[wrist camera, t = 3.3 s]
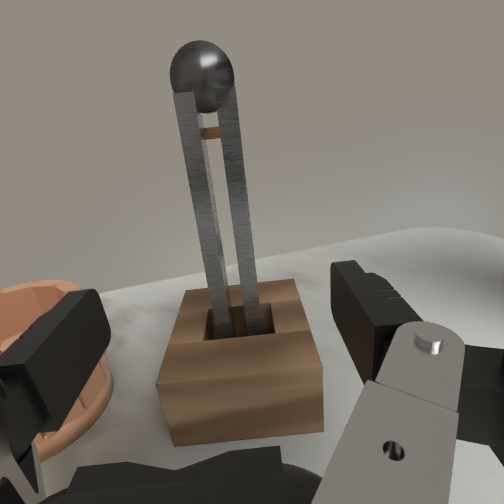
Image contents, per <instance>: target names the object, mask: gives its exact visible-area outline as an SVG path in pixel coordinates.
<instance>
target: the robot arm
mask: <svg viewBox="0 0 504 504" xmlns="http://www.w3.org/2000/svg"><path fill="white" fill-rule="evenodd" d="M330 272H331V310H332V315H333V319H334V321H335V323H336V326H337V328H338V330H339V332H340V334H341V336H342V339H343V341H344V343H345V345H346V347H347V349H348V351H349V354H350V356H351V358H352V360H353V362H354V364H355V366H356V369H357V371H358V373H359V375H360V377H361V379H362V382H363V384H364V388H363V390H362V392H361V394H360V396H359V399H358V401H357V403H356V405H355V407H354V410H353V412H352V414H351V416H350V419H349V421H348V423H347V425H346V427H345V430H344V432H343V434H342V436H341V438H340V441H339V443H338V445H337V447H336V450H335V452H334V454H333V456H332V458H331V461H330V463H329V465H328V467H327V469H326V472H325V474H324V476H323V478H322V477H320V476H319V475H317V474H315V473H312V472H310V471H308V470H306V469H303V468H300V467H297V466H294V465H290V464H284V463H282V460H281V451H280V446H272V447H262V448H253V449H244V450H234V451H228V452H226V453H223V454H220V455H218V456H215V457H212V458H209V459H207V460H204V461H201V462H198V463H196V464H193V465H190V466H188V467H185V468H182V469H179V470H169V469H164V468H158V467H153V466H147V465H142V464H136V463H131V462H121V463H111V464H102V465H92V466H83V467H78V468H77V470H76V472H75V474H74V476H73V478H72V481H71V483H70V485H69V487H68V488H66V489H64V490H62V491H60V492H58V493H56V494H53V495H51V496H49V497H48V498H46V496H45V490H44V484H43V478H42V473H41V467H40V461H39V455H38V450H37V447H36V445H35V443H34V441H33V440H34V438H35V437H36V435H37V434H38V433H46V432H55V431H59V430H60V428H61V426H62V424H63V423H64V421H65V419H66V418H67V416H68V414H69V412H70V411H71V409H72V407H73V405H74V404H75V402H76V400H77V399H78V397H79V395H80V393H81V392H82V390H83V388H84V386H85V385H86V383H87V381H88V380H89V378H90V376H91V374H92V373H93V371H94V369H95V367H96V366H97V364H98V362H99V361H100V359H101V357H102V355H103V354H104V352H105V350H106V348H107V347H108V345H109V342H110V338H111V330H110V325H109V322H108V320H107V317H106V314H105V311H104V308H103V305H102V302H101V299H100V297H99V294H98V292H97V291H96V290H95V289H85V290H76V291H69V292H68V293H67V294H66V295H65V296H64V297H63V298H62V299H61V300H60V301H59V302H58V303H57V304H56V305H55V306H54V307H53V308H52V309H51V310H49V311H47V312H46V313H44V314H43V315H41V316H40V317H38V318H37V319H36V320H35V321H34V322H33V323H32V324H31V325H30V326H29V327H28V330H25V331H24V332H23V333H22V334H21V335H20V336H19V339H16V340H15V341H14V342H13V343H12V344H11V345H10V346H9V347H8V348H7V349H6V350H5V351H4V352H3V353H2V354H1V355H0V504H448V501H449V492H450V484H451V476H452V468H453V460H454V451H455V443H456V439H458V440H463V441H468V442H473V443H479V444H484V445H489V446H490V448H491V449H492V451H493V452H494V453H495V455H496V456H497V458H498V459H499V461H500V462H501V464H502V465H503V466H504V349H497V348H488V347H479V346H471V345H465V344H464V342H463V341H462V339H461V338H460V337H459V336H458V335H457V334H456V333H454V332H453V331H451V330H450V329H448V328H446V327H443V326H441V325H438V324H434V323H430V322H424V321H423V320H422V319H421V318H420V317H419V316H418V314H417V313H416V312H415V311H414V310H413V309H412V308H411V307H410V306H409V304H408V303H407V302H406V301H405V300H404V299H403V298H401V296H400V295H399V293H398V292H397V291H396V290H394V288H393V287H392V286H391V285H390V283H389V282H388V281H387V280H386V279H384V278H382V277H380V276H378V275H376V274H374V273H365V272H364V271H363V269H362V268H361V267H360V266H359V264H358V263H357V262H356V261H355V260H351V261H342V262H333V263H332V264H331V271H330Z"/></svg>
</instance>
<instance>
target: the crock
mask: <svg viewBox="0 0 504 504" xmlns="http://www.w3.org/2000/svg"><path fill="white" fill-rule="evenodd" d="M76 290H82V288H81V286H79V285H77V284H75V283H73V282H71V281H69V280H65V279H60V280H39V281H32V282H28V283H24V284H20V285H16V286H11V287H7V288H3V289H2V291H1V290H0V355H1V354H2V353H3V352H4V351H5V350H6V349H7V348H8V347H9V346H10V345H11V344H12V343H13V342H14V341H15V340H16V339H19V336H20V335H21V334H22V333H23V332H24V331H25V330H28V327H29V326H30V325H31V324H32V323H33V322H34V321H35V320H36V319H37V318H38V317H40V316H41V315H43V314H44V313H46V312H47V311H49V310H51V309H52V308H53V307H54V306H55V305H56V304H57V303H58V302H59V301H60V300H61V299H62V298H63V297H64V296H65V295H66V294H67V293H68V292H69V291H76ZM112 391H113V378H112V375H111V373H110V370H109V367H108V359H107V356H106V353H105V352H104V354H103V355H102V357H101V359H100V361H99V362H98V364H97V366H96V367H95V369H94V371H93V373H92V374H91V376H90V378H89V380H88V381H87V383H86V385H85V386H84V388H83V390H82V392H81V393H80V395H79V397H78V399H77V400H76V402H75V404H74V405H73V407H72V409H71V411H70V412H69V414H68V416H67V418H66V419H65V421H64V423H63V424H62V426H61V428H60V430H59V431H55V432H46V433H38V434H37V435H36V437H35V438H34V440H33V441H34V443H35V445H36V447H37V450H38V455H39V461H40V462H41V461H43V460H45V459H47V458H49V457H51V456H53V455H54V454H56V453H58V452H59V451H61V450H62V449H64V448H66V447H67V446H68V445H70V444H71V443H72V442H74V441H75V440H76V439H77V438H79V437H80V436H81V435H82V434H83V433H84V432H85V431H87V430H88V429H89V428H90V427H91V426H92V424H93V423H94V422H95V421H96V420H97V419H98V418H99V416H100V415H101V413H102V412H103V411H104V409H105V407H106V406H107V404H108V402H109V400H110V397H111V394H112Z"/></svg>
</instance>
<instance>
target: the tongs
mask: <svg viewBox="0 0 504 504" xmlns="http://www.w3.org/2000/svg"><path fill="white" fill-rule="evenodd" d="M170 80H171V86H172V89H173V91H174V94H173V98H174V103H175V109H176V114H177V120H178V125H179V130H180V136H181V142H182V147H183V152H184V158H185V163H186V169H187V174H188V180H189V185H190V190H191V196H192V201H193V207H194V212H195V218H196V223H197V229H198V234H199V239H200V245H201V251H202V256H203V262H204V267H205V273H206V278H207V284H208V289H209V294H210V300H211V305H212V311H213V316H214V322H215V327H216V333H217V338H218V339H227V338H236V333H235V327H234V320H233V314H232V307H231V301H230V294H229V288H228V281H227V275H226V268H225V262H224V255H223V249H222V243H221V237H220V229H219V223H218V217H217V210H216V203H215V197H214V191H213V184H212V178H211V171H210V164H209V158H208V152H207V145H206V139H214V138H221V142H222V150H223V156H224V164H225V171H226V179H227V186H228V193H229V201H230V209H231V216H232V223H233V231H234V237H235V246H236V253H237V260H238V268H239V275H240V282H241V290H242V297H243V305H244V312H245V319H246V327H247V334H248V336H255V335H263V330H262V321H261V312H260V303H259V294H258V285H257V276H256V267H255V258H254V249H253V241H252V232H251V222H250V213H249V205H248V195H247V187H246V178H245V170H244V160H243V151H242V142H241V133H240V124H239V115H238V106H237V97H236V89H235V81H234V80H235V79H234V74H233V68H232V65H231V63H230V60H229V59H228V57H227V55H226V54H225V53H224V52H223V51H222V50H221V49H220V48H219V47H218V46H216V45H215V44H213V43H210V42H207V41H193V42H190V43H188V44H186V45H184V46H183V47H181V48H180V49H179V50H178V52H177V53H176V54H175V56H174V58H173V61H172V63H171V67H170ZM215 112H217V113H218V120H219V126H218V127H209V128H204V126H203V119H202V113H206V114H211V113H215Z"/></svg>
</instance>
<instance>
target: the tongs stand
mask: <svg viewBox="0 0 504 504" xmlns="http://www.w3.org/2000/svg"><path fill="white" fill-rule="evenodd" d="M257 285H258V294H259V303H260V312H261V321H262V330H263V335H255V336H248V334H247V327H246V319H245V312H244V305H243V297H242V290H241V284H240V285H231V286H228V288H229V294H230V301H231V307H232V314H233V320H234V327H235V333H236V338H227V339H218V338H217V333H216V327H215V322H214V316H213V311H212V305H211V300H210V294H209V289H208V288H203V289H194V290H186V291H185V294H184V297H183V301H182V304H181V307H180V310H179V313H178V316H177V319H176V322H175V325H174V328H173V332H172V335H171V338H170V341H169V344H168V347H167V350H166V353H165V356H164V359H163V363H162V366H161V369H160V372H159V375H158V378H157V381H156V388H157V391H158V394H159V398H160V401H161V404H162V408H163V411H164V414H165V418H166V421H167V424H168V427H169V431H170V434H171V437H172V441H173V444H174V447H175V446H185V445H195V444H205V443H215V442H224V441H234V440H244V439H254V438H263V437H273V436H283V435H293V434H303V433H312V432H322V431H324V417H323V367H322V364H321V361H320V358H319V355H318V352H317V349H316V346H315V343H314V340H313V336H312V333H311V330H310V327H309V324H308V321H307V318H306V315H305V312H304V309H303V306H302V303H301V300H300V297H299V294H298V291H297V288H296V285H295V282H294V279H286V280H277V281H268V282H259V283H257Z"/></svg>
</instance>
